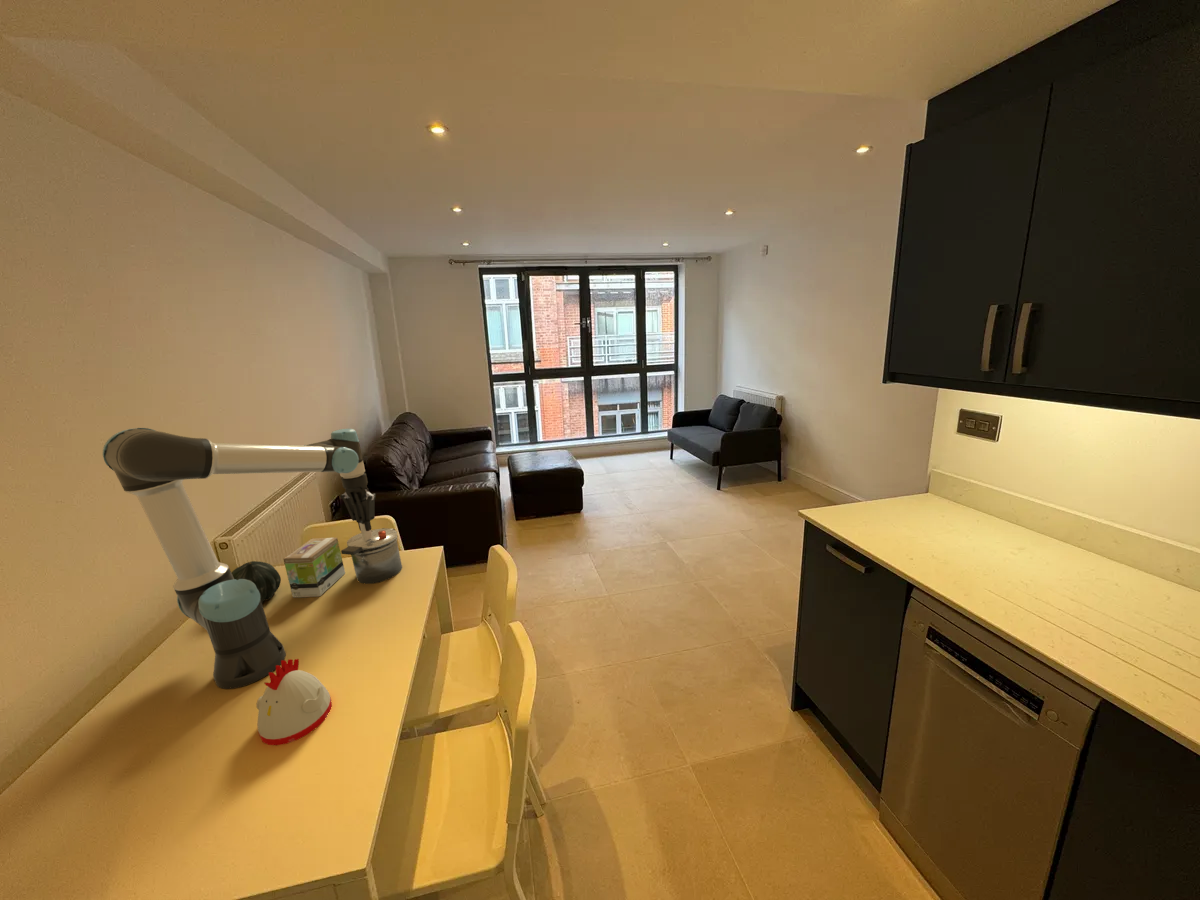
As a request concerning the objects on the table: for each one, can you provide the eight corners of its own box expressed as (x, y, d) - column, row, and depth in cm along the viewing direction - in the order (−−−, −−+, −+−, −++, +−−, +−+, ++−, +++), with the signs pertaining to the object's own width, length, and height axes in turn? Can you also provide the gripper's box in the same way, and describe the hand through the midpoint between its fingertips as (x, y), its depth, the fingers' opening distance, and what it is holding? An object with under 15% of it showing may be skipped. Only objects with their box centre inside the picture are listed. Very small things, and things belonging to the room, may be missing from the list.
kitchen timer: (244, 743, 98) (223, 685, 94) (293, 692, 112) (277, 640, 107) (301, 747, 96) (283, 688, 92) (345, 696, 109) (331, 642, 105)
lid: (367, 556, 149) (365, 546, 149) (328, 552, 154) (326, 542, 153) (408, 532, 168) (406, 523, 167) (372, 529, 173) (370, 520, 172)
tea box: (321, 597, 152) (311, 557, 148) (292, 598, 153) (281, 558, 149) (346, 573, 167) (337, 536, 163) (319, 574, 167) (310, 537, 163)
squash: (236, 576, 159) (218, 559, 147) (286, 567, 164) (273, 550, 152) (232, 617, 152) (213, 603, 140) (285, 605, 157) (271, 591, 145)
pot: (382, 586, 156) (375, 554, 153) (345, 582, 161) (338, 551, 157) (414, 561, 172) (408, 532, 169) (380, 558, 176) (373, 529, 173)
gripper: (377, 471, 155) (390, 535, 162) (346, 470, 159) (360, 532, 165) (360, 479, 148) (375, 545, 155) (328, 478, 152) (344, 542, 158)
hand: (367, 538), depth 160 cm, fingers closed
